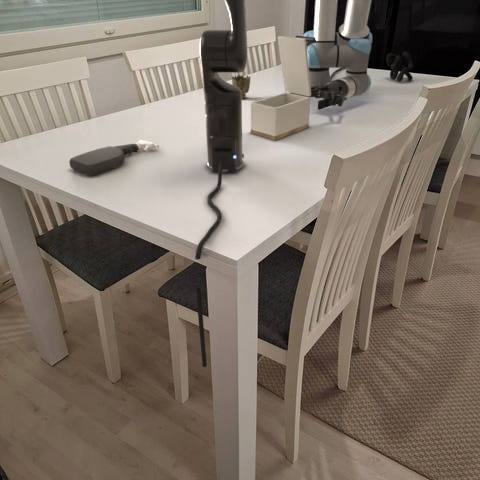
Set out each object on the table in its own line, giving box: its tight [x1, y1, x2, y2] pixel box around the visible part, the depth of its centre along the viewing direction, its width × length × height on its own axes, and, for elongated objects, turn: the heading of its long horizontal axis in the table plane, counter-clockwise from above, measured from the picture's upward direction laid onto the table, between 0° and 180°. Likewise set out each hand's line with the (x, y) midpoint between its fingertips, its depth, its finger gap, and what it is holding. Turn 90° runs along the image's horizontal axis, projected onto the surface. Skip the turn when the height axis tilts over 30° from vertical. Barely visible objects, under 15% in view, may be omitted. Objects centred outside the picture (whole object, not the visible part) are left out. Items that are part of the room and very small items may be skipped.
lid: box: [276, 35, 316, 96], centre depth 140 cm, size 18×10×8 cm
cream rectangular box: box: [250, 91, 311, 141], centre depth 142 cm, size 17×10×10 cm, turn 136°
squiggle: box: [385, 51, 414, 83], centre depth 198 cm, size 11×10×15 cm
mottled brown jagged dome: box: [231, 74, 252, 99], centre depth 177 cm, size 8×7×8 cm
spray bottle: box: [68, 139, 160, 177], centre depth 124 cm, size 3×11×24 cm
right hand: (302, 101), depth 147 cm, fingers open, 13 cm apart
